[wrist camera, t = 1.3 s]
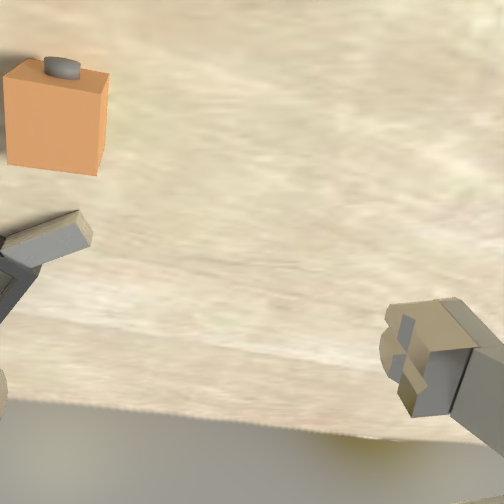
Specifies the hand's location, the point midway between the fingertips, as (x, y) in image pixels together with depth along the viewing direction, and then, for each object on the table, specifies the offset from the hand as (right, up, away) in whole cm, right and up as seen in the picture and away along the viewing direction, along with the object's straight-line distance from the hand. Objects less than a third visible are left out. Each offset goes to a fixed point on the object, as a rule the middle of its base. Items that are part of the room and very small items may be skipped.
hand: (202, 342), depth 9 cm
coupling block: (-12, +12, +21) cm, 27 cm away
